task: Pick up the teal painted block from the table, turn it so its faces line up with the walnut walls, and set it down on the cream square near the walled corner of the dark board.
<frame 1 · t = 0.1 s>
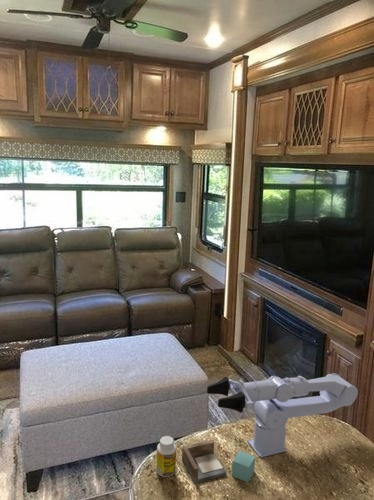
hand: (212, 396, 122), 22 cm above the countertop, tool horizontal, fingers open, 7 cm apart
supplement bottle: (166, 471, 121), on the countertop
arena: (203, 467, 123), on the countertop
teal block: (243, 473, 122), on the countertop
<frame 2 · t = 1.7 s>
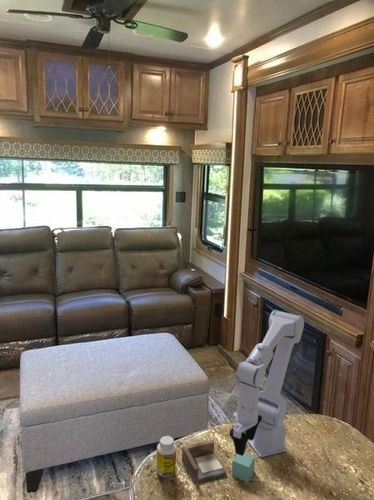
hand: (244, 446, 120), 9 cm above the countertop, tool pointing down, fingers open, 7 cm apart
nothing on the countertop moved.
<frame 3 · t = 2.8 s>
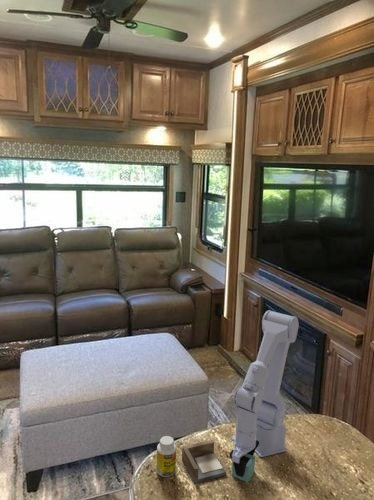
hand: (243, 469, 121), 1 cm above the countertop, tool pointing down, fingers closed on teal block, 5 cm apart
teal block: (243, 473, 121), on the countertop, touching gripper
everything else where it was.
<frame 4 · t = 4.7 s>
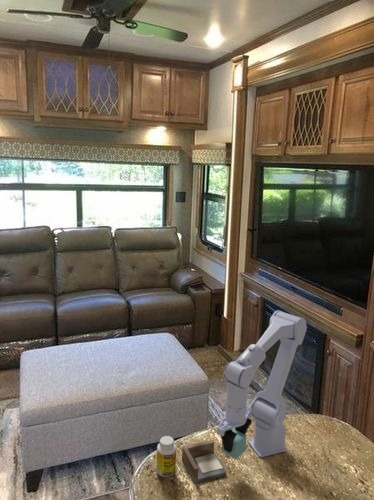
hand: (233, 446, 120), 8 cm above the countertop, tool pointing down, fingers closed on teal block, 5 cm apart
teal block: (233, 450, 121), point 7 cm above the countertop, touching gripper
everything else where it was.
when the fingers open (5 cm above the countertop, at t = 6.8 s): teal block drops 2 cm, resting on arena.
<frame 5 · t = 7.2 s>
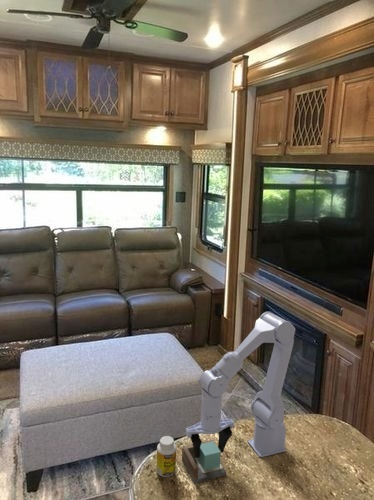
hand: (209, 452, 123), 5 cm above the countertop, tool pointing down, fingers open, 7 cm apart
teal block: (208, 463, 124), point 1 cm above the countertop, touching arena
everything else where it was.
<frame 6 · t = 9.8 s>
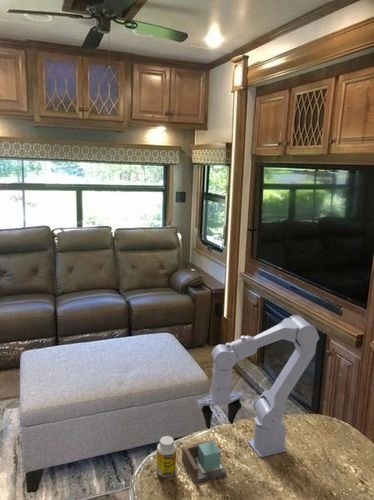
hand: (219, 424, 129), 9 cm above the countertop, tool pointing down, fingers open, 7 cm apart
nothing on the countertop moved.
at the end: teal block 0.3 cm from the target spot, point 1.2 cm above the countertop; teal block tilted 0°; the gripper is holding nothing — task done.
